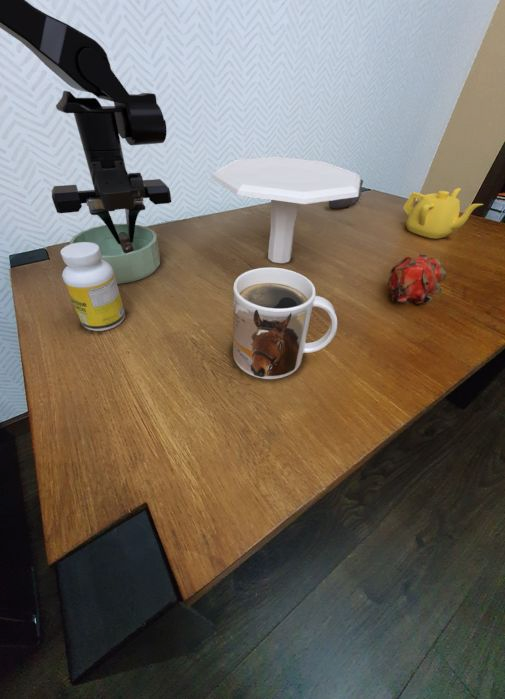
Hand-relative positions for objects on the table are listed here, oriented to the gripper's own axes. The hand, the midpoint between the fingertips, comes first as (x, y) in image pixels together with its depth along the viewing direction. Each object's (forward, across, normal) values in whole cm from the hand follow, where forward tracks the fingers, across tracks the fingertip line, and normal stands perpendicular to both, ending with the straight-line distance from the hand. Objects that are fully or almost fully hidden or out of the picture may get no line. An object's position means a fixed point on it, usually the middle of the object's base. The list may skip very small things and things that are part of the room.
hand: (125, 242), depth 60 cm
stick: (+1, 0, 0) cm, 1 cm away
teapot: (+4, +76, -10) cm, 77 cm away
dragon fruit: (+4, +44, -32) cm, 54 cm away
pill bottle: (+4, -7, -18) cm, 20 cm away
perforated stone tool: (+4, +66, +15) cm, 68 cm away
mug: (+4, +14, -36) cm, 39 cm away
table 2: (+4, +30, -9) cm, 31 cm away
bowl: (+4, -2, -1) cm, 5 cm away
